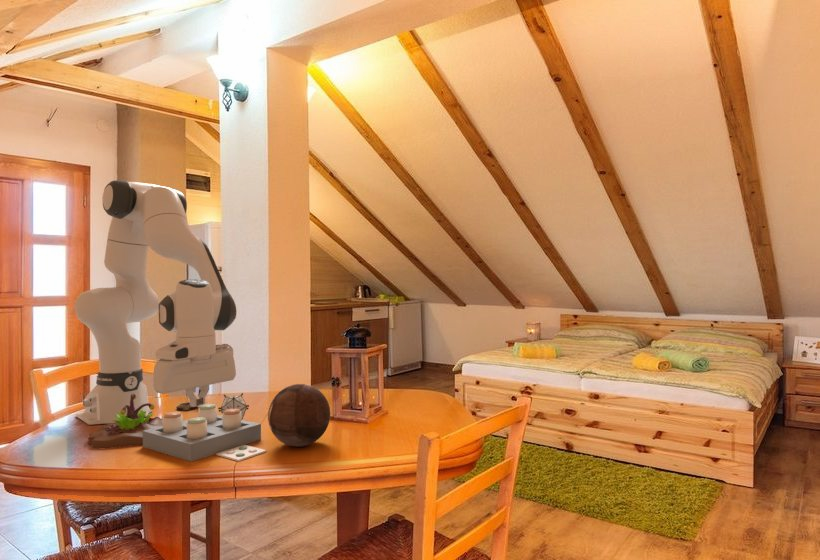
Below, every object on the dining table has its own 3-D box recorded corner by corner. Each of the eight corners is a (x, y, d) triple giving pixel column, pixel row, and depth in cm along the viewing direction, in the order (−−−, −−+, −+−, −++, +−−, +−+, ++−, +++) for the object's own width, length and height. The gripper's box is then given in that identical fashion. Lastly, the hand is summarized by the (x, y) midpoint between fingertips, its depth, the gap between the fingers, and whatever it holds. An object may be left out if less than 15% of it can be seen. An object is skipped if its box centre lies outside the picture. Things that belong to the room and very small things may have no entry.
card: (216, 455, 130) (216, 452, 130) (244, 446, 137) (244, 444, 137) (238, 461, 126) (238, 459, 126) (266, 451, 132) (266, 449, 132)
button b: (195, 427, 146) (194, 406, 146) (210, 423, 150) (209, 402, 150) (205, 430, 144) (205, 408, 143) (220, 426, 147) (220, 405, 147)
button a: (159, 437, 138) (158, 414, 138) (176, 432, 142) (175, 410, 142) (169, 440, 135) (169, 417, 135) (186, 435, 139) (186, 413, 139)
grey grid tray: (142, 447, 137) (142, 430, 137) (212, 427, 154) (212, 413, 154) (191, 461, 126) (190, 444, 126) (261, 439, 142) (260, 423, 142)
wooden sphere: (334, 435, 145) (333, 378, 144) (325, 454, 130) (324, 390, 129) (276, 436, 145) (275, 379, 144) (261, 455, 130) (260, 391, 129)
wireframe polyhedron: (237, 436, 158) (237, 413, 152) (211, 424, 160) (210, 401, 154) (255, 414, 165) (255, 391, 159) (230, 403, 167) (230, 380, 161)
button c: (182, 443, 132) (182, 420, 132) (199, 438, 136) (199, 416, 136) (194, 447, 130) (193, 423, 130) (211, 441, 133) (211, 418, 133)
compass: (177, 407, 179) (176, 384, 179) (203, 405, 181) (203, 382, 181) (175, 413, 171) (174, 389, 171) (202, 411, 174) (201, 387, 174)
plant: (178, 424, 160) (177, 385, 160) (169, 444, 141) (168, 399, 141) (100, 430, 154) (99, 390, 154) (80, 452, 135) (79, 406, 135)
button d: (218, 433, 140) (218, 411, 140) (233, 429, 144) (233, 407, 144) (230, 436, 138) (229, 413, 138) (245, 431, 142) (245, 409, 142)
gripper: (224, 342, 143) (226, 395, 143) (148, 352, 126) (150, 413, 126) (240, 343, 139) (242, 398, 139) (164, 353, 123) (166, 416, 123)
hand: (197, 405), depth 133 cm, fingers closed
